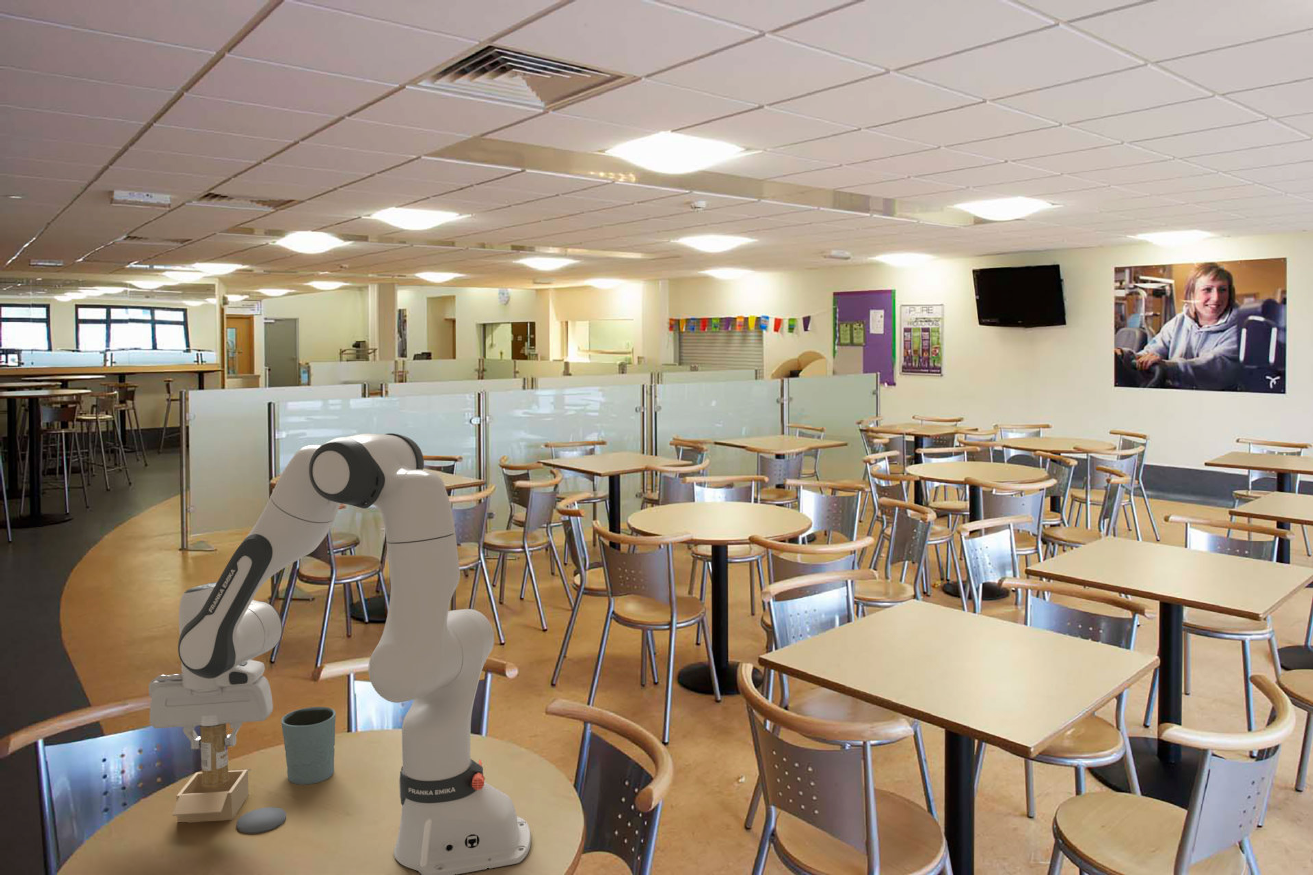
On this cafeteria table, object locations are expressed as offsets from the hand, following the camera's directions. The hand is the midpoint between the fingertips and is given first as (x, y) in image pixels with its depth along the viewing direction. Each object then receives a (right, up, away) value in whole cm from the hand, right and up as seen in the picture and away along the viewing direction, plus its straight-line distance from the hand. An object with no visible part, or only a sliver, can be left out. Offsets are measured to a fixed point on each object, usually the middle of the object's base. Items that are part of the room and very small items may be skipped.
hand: (214, 746), depth 161 cm
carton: (-1, -12, +1) cm, 12 cm away
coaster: (+10, -12, -3) cm, 16 cm away
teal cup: (+12, -11, +15) cm, 22 cm away
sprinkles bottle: (0, -7, +1) cm, 7 cm away
